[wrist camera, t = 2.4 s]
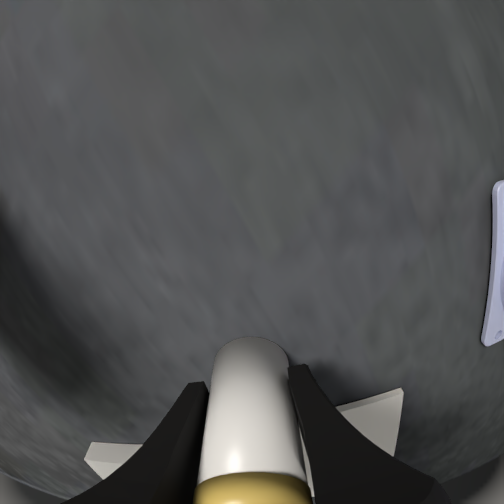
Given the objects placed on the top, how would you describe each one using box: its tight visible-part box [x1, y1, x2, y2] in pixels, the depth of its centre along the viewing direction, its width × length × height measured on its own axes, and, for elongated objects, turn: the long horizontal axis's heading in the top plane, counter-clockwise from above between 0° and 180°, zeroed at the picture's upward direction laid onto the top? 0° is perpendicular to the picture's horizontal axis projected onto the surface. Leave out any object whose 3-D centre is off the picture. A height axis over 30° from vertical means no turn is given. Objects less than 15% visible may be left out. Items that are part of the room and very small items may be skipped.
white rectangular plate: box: [299, 388, 404, 497], centre depth 14 cm, size 10×9×1 cm
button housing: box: [84, 442, 143, 480], centre depth 14 cm, size 6×6×2 cm
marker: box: [193, 337, 313, 504], centre depth 9 cm, size 3×3×7 cm
